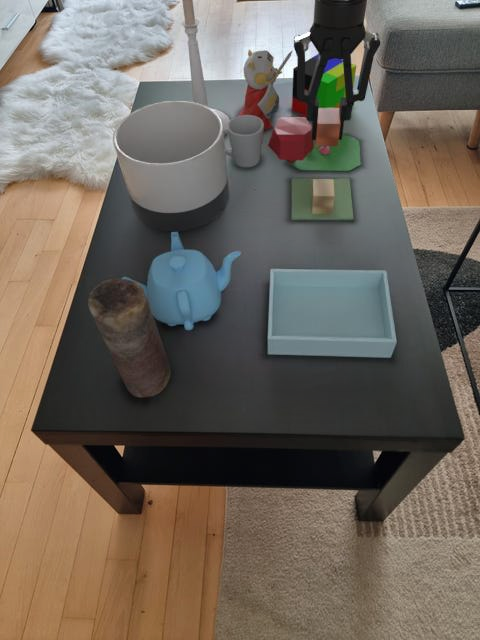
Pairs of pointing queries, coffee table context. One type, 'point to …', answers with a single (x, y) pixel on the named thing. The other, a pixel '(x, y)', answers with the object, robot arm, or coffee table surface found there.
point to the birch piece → (322, 196)
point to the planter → (173, 164)
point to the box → (330, 313)
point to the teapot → (185, 285)
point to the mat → (303, 206)
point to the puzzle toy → (323, 84)
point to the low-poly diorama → (311, 147)
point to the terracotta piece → (328, 127)
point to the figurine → (261, 86)
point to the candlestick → (197, 60)
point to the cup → (245, 139)
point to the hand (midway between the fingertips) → (326, 135)
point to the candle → (131, 335)
